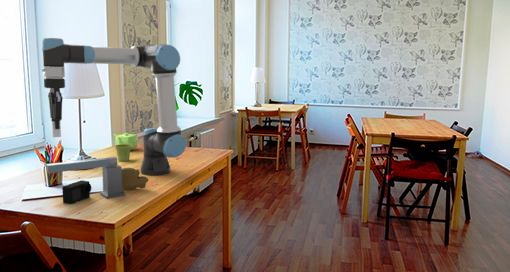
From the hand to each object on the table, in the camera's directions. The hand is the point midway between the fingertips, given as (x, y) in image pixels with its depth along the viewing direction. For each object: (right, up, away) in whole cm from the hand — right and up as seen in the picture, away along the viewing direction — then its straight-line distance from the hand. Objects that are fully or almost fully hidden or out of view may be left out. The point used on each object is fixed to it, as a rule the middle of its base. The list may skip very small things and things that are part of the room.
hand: (56, 136), depth 172 cm
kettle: (-4, -9, +103) cm, 104 cm away
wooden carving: (+24, -24, +18) cm, 38 cm away
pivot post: (+19, -25, +10) cm, 33 cm away
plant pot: (+4, -14, +74) cm, 75 cm away
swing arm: (+11, -13, +1) cm, 17 cm away
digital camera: (+8, -26, +1) cm, 27 cm away
